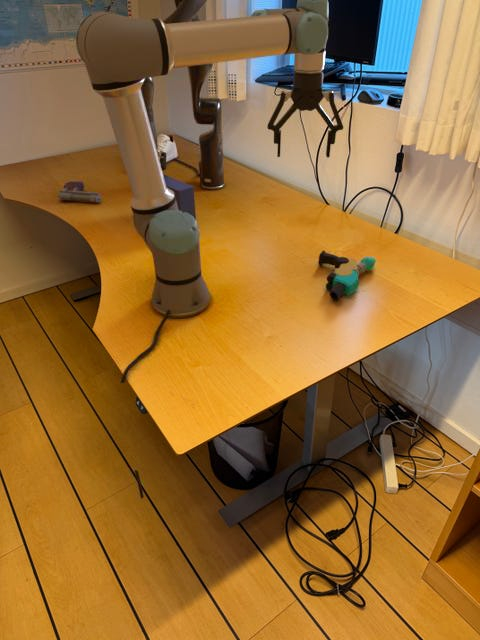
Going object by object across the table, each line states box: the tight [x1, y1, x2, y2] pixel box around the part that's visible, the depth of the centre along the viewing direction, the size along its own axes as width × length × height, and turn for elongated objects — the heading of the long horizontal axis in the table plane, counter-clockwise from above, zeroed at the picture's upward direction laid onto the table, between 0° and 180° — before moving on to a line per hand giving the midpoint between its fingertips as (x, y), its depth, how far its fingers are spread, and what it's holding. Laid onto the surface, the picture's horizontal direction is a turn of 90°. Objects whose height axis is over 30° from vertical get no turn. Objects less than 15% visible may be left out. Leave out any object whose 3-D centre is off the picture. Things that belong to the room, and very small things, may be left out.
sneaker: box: [157, 133, 179, 163], centre depth 214 cm, size 10×29×12 cm, turn 163°
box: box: [163, 173, 197, 221], centre depth 160 cm, size 24×6×12 cm, turn 42°
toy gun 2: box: [318, 250, 376, 303], centre depth 132 cm, size 4×26×15 cm
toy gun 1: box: [56, 180, 103, 204], centre depth 185 cm, size 4×19×15 cm
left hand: (303, 155), depth 133 cm, fingers open, 13 cm apart
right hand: (151, 185), depth 165 cm, fingers closed on box, 6 cm apart
